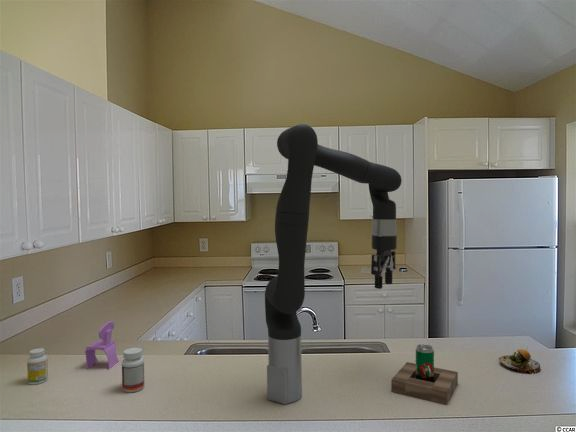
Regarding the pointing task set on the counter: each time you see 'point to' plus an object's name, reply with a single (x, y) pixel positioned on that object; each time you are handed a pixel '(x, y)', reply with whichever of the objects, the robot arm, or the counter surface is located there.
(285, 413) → the counter surface
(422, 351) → the soda can
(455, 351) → the counter surface
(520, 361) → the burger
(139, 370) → the pill bottle
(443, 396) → the socket block
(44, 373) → the supplement bottle
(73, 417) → the counter surface
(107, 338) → the toy chair
